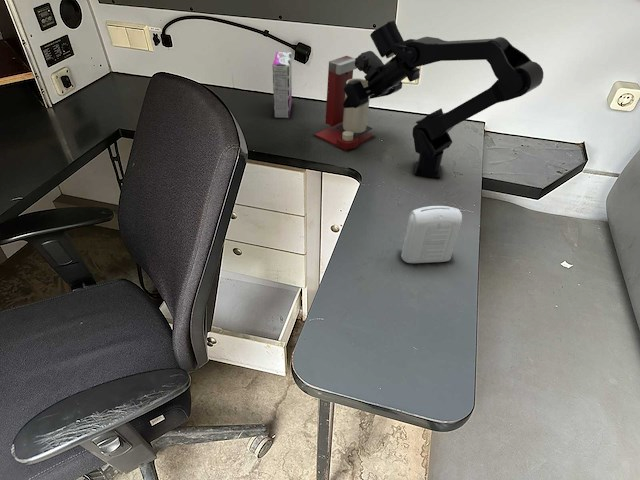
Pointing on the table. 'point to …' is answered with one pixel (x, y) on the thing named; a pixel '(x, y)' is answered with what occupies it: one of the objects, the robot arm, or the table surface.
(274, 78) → the candy bar box
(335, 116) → the coffee maker tower
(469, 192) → the table surface
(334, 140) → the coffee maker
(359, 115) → the tumbler
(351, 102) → the robot arm
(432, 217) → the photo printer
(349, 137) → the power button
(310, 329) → the table surface
